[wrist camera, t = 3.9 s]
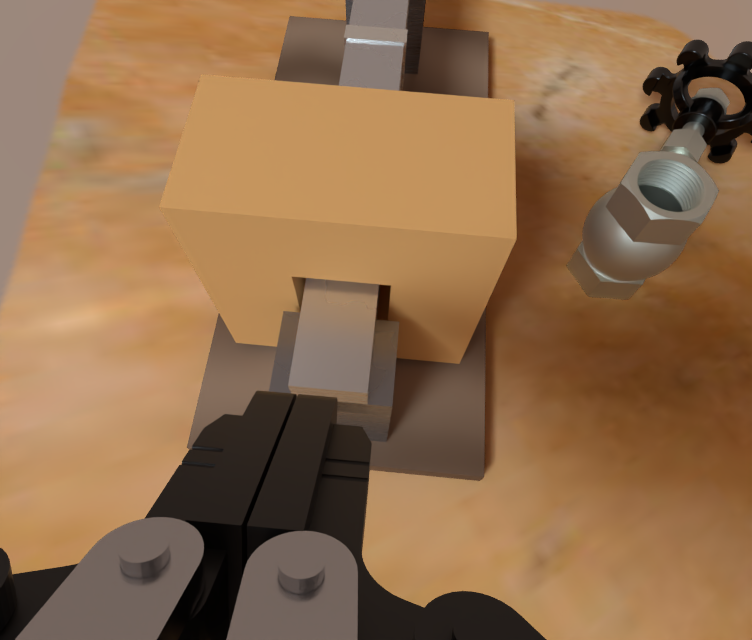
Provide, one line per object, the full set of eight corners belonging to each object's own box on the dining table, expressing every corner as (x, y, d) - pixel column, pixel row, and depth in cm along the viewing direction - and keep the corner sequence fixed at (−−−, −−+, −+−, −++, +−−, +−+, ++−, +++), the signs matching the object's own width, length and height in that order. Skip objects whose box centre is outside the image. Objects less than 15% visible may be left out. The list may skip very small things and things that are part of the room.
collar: (459, 363, 23) (516, 238, 14) (236, 342, 23) (159, 207, 15) (462, 263, 25) (514, 99, 16) (257, 244, 25) (201, 74, 17)
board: (479, 480, 23) (484, 476, 22) (194, 452, 23) (186, 447, 22) (485, 46, 33) (488, 30, 32) (291, 31, 34) (289, 14, 33)
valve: (649, 336, 26) (734, 172, 30) (736, 264, 20) (827, 72, 24) (525, 266, 27) (623, 119, 31) (570, 179, 21) (684, 12, 25)
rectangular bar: (386, 442, 22) (394, 394, 16) (289, 432, 22) (260, 382, 16) (420, 38, 32) (433, -84, 26) (353, 32, 32) (351, -90, 26)
